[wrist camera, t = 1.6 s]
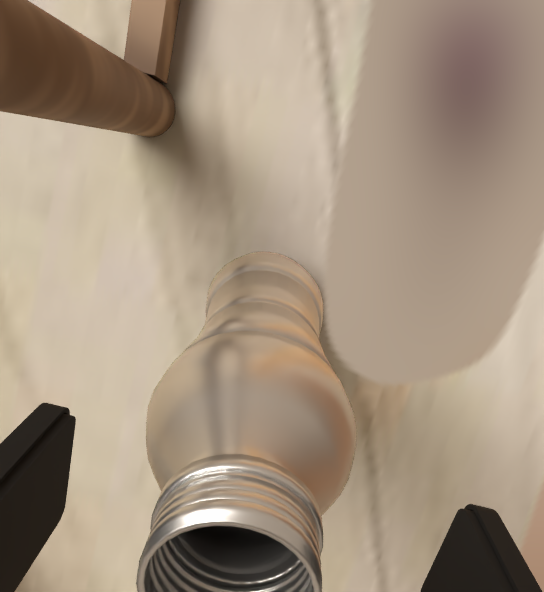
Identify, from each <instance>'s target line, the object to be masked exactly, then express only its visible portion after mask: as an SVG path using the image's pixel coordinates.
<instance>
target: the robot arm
mask: <svg viewBox="0 0 544 592" xmlns="http://www.w3.org/2000/svg"><path fill="white" fill-rule="evenodd" d="M75 422H76V419H75V417H74V416H71V415H70V411H69V409H68V408H65V407H61V406H57V405H53V404H49V403H42V404H41V405H39V406H38V407H37V408H36V409H35V410H34V411H33V412H32V413H31V414H30V415H29V416H28V417H27V418H26V419H25V420H24V421H23V422H22V423H21V424H20V425H19V426H18V427H17V428H16V429H15V430H14V431H13V432H12V433H11V434H10V435H9V436H8V437H7V438H6V439H5V440H4V441H3V442H2V443H1V444H0V592H14V591H15V590H16V588H17V587H18V585H19V584H20V582H21V581H22V579H23V577H24V576H25V574H26V573H27V571H28V570H29V568H30V566H31V565H32V563H33V562H34V560H35V559H36V557H37V556H38V554H39V552H40V551H41V549H42V548H43V546H44V545H45V543H46V541H47V540H48V538H49V537H50V535H51V534H52V532H53V531H54V529H55V527H56V526H57V524H58V523H59V521H60V519H61V517H62V514H63V512H64V508H65V503H66V495H67V487H68V479H69V471H70V463H71V455H72V447H73V438H74V430H75ZM421 592H542V590H541V589H540V587H539V585H538V583H537V582H536V580H535V578H534V576H533V575H532V573H531V571H530V569H529V567H528V566H527V564H526V562H525V560H524V559H523V557H522V555H521V553H520V551H519V550H518V548H517V546H516V544H515V543H514V541H513V539H512V537H511V536H510V534H509V532H508V530H507V529H506V527H505V525H504V523H503V521H502V520H501V518H500V516H499V514H498V513H497V512H496V511H495V510H493V509H489V508H485V507H481V506H477V505H473V504H469V505H467V506H466V507H465V509H460V510H458V512H457V514H456V516H455V518H454V520H453V522H452V524H451V526H450V529H449V531H448V533H447V535H446V537H445V539H444V541H443V543H442V546H441V548H440V550H439V552H438V554H437V556H436V558H435V560H434V562H433V565H432V567H431V569H430V571H429V573H428V575H427V577H426V579H425V582H424V584H423V586H422V588H421Z"/></svg>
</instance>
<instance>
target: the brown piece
mask: <svg viewBox="0 0 544 592" xmlns="http://www.w3.org/2000/svg"><path fill="white" fill-rule="evenodd" d="M179 5H180V0H132V3H131V10H130V18H129V25H128V33H127V41H126V48H125V56H124V60H123V59H121V58H119V57H118V56H116V55H115V54H113V53H111V52H110V51H108V50H106V49H105V48H103V47H102V46H100V45H98V44H97V43H95V42H94V41H92V40H90V39H89V38H87V37H86V36H84V35H82V34H81V33H79V32H78V31H76V30H74V29H73V28H71V27H69V26H68V25H66V24H65V23H63V22H61V21H60V20H58V19H57V18H55V17H53V16H52V15H50V14H49V13H47V12H45V11H44V10H42V9H40V8H39V7H37V6H36V5H34V4H32V3H31V2H29V1H28V0H0V111H3V112H9V113H14V114H20V115H26V116H32V117H37V118H43V119H49V120H55V121H60V122H66V123H72V124H78V125H84V126H89V127H95V128H101V129H107V130H112V131H118V132H124V133H130V134H135V135H141V136H147V137H154V136H158V135H161V134H162V133H164V132H165V131H167V129H168V128H169V127H170V126H171V124H172V122H173V120H174V116H175V104H174V100H173V98H172V95H171V93H170V92H169V91H168V89H167V88H166V87H165V86H164V85H163V84H161V83H160V82H164V83H167V80H168V74H169V67H170V61H171V55H172V49H173V42H174V36H175V30H176V24H177V17H178V11H179ZM158 81H160V82H158Z"/></svg>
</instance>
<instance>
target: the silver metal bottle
mask: <svg viewBox="0 0 544 592" xmlns="http://www.w3.org/2000/svg"><path fill="white" fill-rule="evenodd" d="M322 322H323V301H322V296H321V292H320V290H319V288H318V286H317V283H316V282H315V281H314V279H313V278H312V276H311V275H310V274H309V273H308V272H307V271H306V270H305V269H304V268H303V267H302V266H301V265H299V264H298V263H296V262H295V261H293V260H292V259H290V258H288V257H286V256H283V255H281V254H277V253H272V252H255V253H250V254H246V255H244V256H241V257H239V258H236V259H234V260H233V261H231V262H230V263H228V264H227V265H225V266H224V267H223V268H222V269H221V270H220V271H219V272H218V273H217V275H216V276H215V278H214V279H213V281H212V283H211V285H210V288H209V291H208V296H207V303H206V322H205V326H204V328H203V329H202V331H201V332H200V334H199V336H198V337H197V338H196V339H195V340H194V342H193V343H192V344H191V345H190V346H189V347H188V348H187V349H186V350H185V351H184V352H183V353H182V354H181V355H180V356H179V357H178V358H177V359H176V360H175V361H174V362H173V363H172V364H171V366H170V367H169V369H168V370H167V371H166V373H165V374H164V375H163V377H162V378H161V380H160V381H159V383H158V385H157V386H156V388H155V389H154V391H153V394H152V397H151V400H150V402H149V405H148V411H147V421H146V447H147V454H148V460H149V463H150V466H151V469H152V471H153V474H154V477H155V479H156V481H157V483H158V485H159V487H160V490H161V494H160V496H159V499H158V501H157V504H156V506H155V509H154V512H153V514H152V520H151V532H150V535H149V537H148V540H147V542H146V545H145V548H144V550H143V553H142V555H141V558H140V560H139V568H138V573H137V582H136V584H137V591H138V592H322V575H321V562H320V555H321V552H322V548H323V527H322V517H321V516H322V515H323V514H324V513H325V512H326V511H327V510H328V509H329V507H330V506H331V505H332V504H333V503H334V502H335V500H336V499H337V498H338V497H339V496H340V494H341V492H342V491H343V489H344V487H345V485H346V483H347V481H348V479H349V475H350V471H351V468H352V464H353V459H354V454H355V450H356V437H357V427H356V422H355V418H354V413H353V409H352V407H351V405H350V402H349V400H348V397H347V395H346V393H345V390H344V388H343V386H342V384H341V382H340V380H339V379H338V377H337V375H336V373H335V372H334V370H333V368H332V367H331V365H330V363H329V362H328V360H327V358H326V357H325V355H324V352H323V349H322V346H321V344H320V340H319V335H320V331H321V327H322Z"/></svg>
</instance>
